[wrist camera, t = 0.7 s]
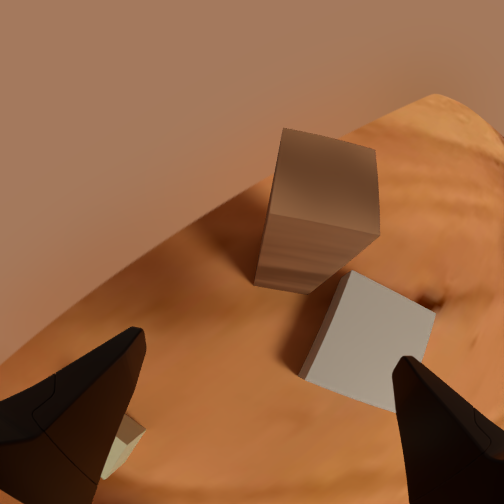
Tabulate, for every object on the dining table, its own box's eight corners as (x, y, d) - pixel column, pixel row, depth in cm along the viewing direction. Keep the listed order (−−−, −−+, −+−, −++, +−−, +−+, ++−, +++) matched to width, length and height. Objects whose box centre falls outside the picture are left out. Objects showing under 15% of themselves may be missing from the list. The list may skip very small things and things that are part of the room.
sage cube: (146, 429, 18) (127, 444, 14) (125, 461, 17) (104, 479, 13) (104, 396, 19) (78, 404, 15) (86, 430, 18) (59, 441, 14)
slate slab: (383, 408, 20) (400, 414, 17) (296, 375, 21) (304, 380, 18) (417, 317, 23) (435, 313, 20) (339, 279, 24) (351, 269, 21)
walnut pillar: (307, 294, 23) (379, 235, 10) (253, 285, 23) (269, 213, 10) (313, 243, 24) (375, 149, 12) (262, 234, 24) (283, 127, 12)
